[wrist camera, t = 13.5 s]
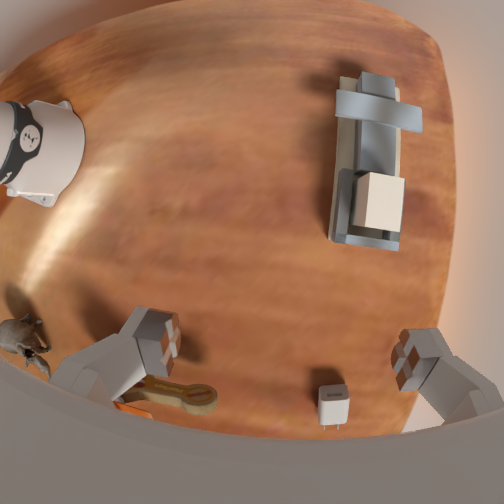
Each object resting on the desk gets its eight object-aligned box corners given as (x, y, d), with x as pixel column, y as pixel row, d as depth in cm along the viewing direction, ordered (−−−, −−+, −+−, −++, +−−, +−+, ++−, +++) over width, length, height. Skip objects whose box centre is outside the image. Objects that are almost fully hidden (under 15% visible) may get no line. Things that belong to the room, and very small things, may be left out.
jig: (319, 237, 34) (324, 242, 28) (331, 78, 31) (337, 56, 25) (395, 248, 33) (414, 254, 27) (403, 93, 30) (418, 75, 24)
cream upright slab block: (348, 224, 32) (364, 226, 24) (352, 182, 31) (369, 172, 24) (376, 228, 32) (399, 232, 24) (380, 186, 31) (404, 178, 23)
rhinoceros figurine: (2, 295, 41) (-20, 338, 29) (57, 306, 48) (45, 353, 36) (6, 325, 43) (-11, 370, 31) (58, 335, 50) (50, 384, 38)
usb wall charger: (346, 383, 36) (350, 399, 32) (342, 419, 37) (345, 435, 33) (318, 385, 36) (320, 401, 32) (316, 421, 37) (317, 437, 33)
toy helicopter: (103, 333, 41) (47, 368, 27) (226, 353, 38) (195, 413, 24) (111, 376, 42) (63, 417, 28) (227, 400, 39) (202, 463, 25)
